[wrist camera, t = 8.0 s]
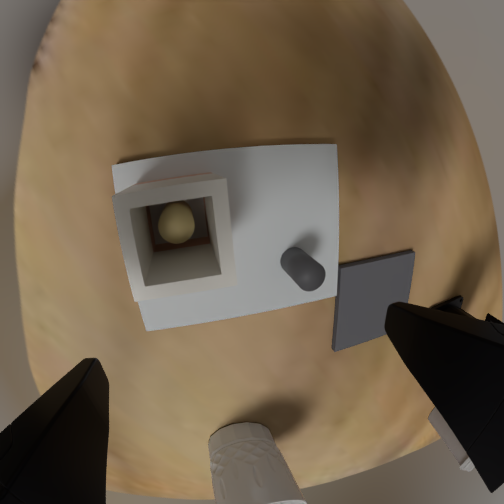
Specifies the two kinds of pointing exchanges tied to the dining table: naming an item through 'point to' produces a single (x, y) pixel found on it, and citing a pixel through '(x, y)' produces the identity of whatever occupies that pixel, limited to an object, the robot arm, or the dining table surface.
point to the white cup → (250, 467)
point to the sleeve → (175, 255)
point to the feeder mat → (369, 296)
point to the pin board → (251, 228)
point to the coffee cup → (450, 440)
